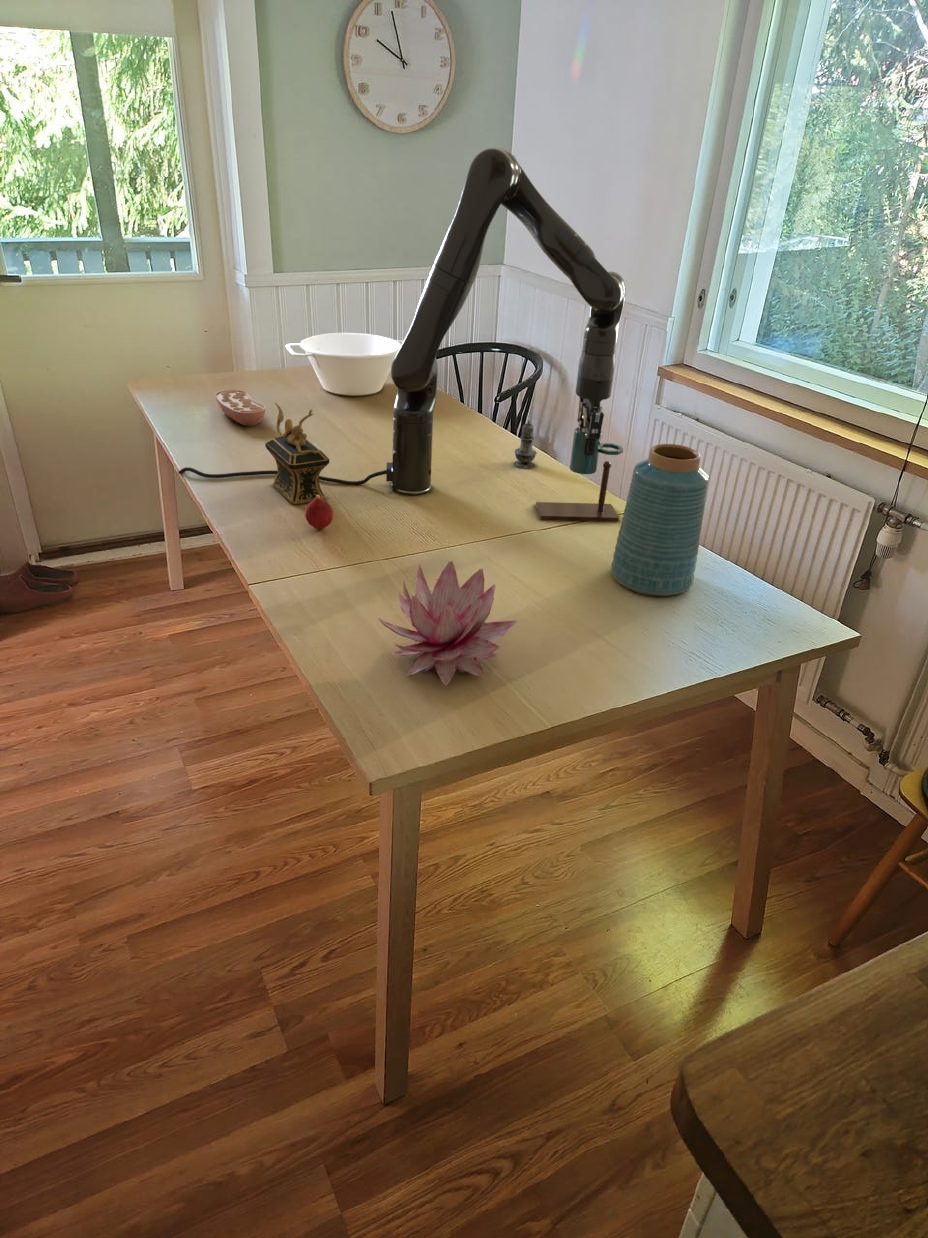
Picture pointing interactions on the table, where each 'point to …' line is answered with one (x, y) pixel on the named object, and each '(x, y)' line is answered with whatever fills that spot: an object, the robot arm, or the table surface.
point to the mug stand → (581, 506)
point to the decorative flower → (450, 624)
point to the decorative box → (296, 462)
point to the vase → (662, 522)
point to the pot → (350, 361)
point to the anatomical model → (240, 407)
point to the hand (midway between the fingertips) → (585, 449)
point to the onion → (319, 513)
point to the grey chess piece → (525, 448)
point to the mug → (587, 462)
